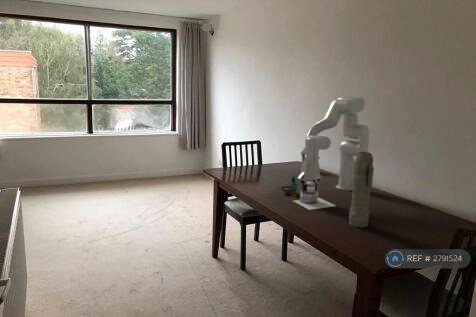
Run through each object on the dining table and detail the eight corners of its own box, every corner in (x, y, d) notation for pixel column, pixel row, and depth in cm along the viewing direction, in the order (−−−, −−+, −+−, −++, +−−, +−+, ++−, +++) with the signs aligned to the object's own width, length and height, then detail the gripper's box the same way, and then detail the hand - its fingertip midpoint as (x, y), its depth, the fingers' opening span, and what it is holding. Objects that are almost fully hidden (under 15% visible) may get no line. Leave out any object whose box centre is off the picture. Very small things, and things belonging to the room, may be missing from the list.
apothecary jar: (316, 173, 272) (318, 150, 268) (300, 173, 272) (302, 149, 268) (313, 169, 284) (314, 147, 280) (298, 169, 284) (299, 147, 280)
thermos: (360, 230, 164) (367, 155, 157) (342, 221, 175) (348, 151, 168) (374, 227, 168) (382, 154, 161) (356, 219, 179) (362, 150, 172)
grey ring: (310, 197, 210) (311, 188, 209) (321, 203, 201) (321, 193, 200) (296, 199, 206) (296, 190, 205) (306, 205, 197) (306, 195, 196)
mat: (318, 198, 211) (318, 197, 211) (336, 206, 197) (336, 205, 197) (292, 201, 204) (292, 200, 204) (308, 210, 189) (309, 209, 189)
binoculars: (281, 176, 220) (297, 176, 218) (282, 193, 222) (298, 193, 220) (280, 180, 211) (297, 179, 209) (281, 197, 213) (297, 197, 211)
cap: (310, 189, 206) (311, 181, 205) (317, 192, 201) (317, 183, 200) (301, 190, 204) (302, 182, 203) (307, 193, 198) (308, 184, 197)
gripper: (320, 157, 205) (317, 187, 209) (294, 159, 198) (292, 190, 202) (328, 159, 199) (325, 190, 202) (302, 161, 192) (300, 193, 195)
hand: (309, 190), depth 202 cm, fingers closed on cap, 5 cm apart
